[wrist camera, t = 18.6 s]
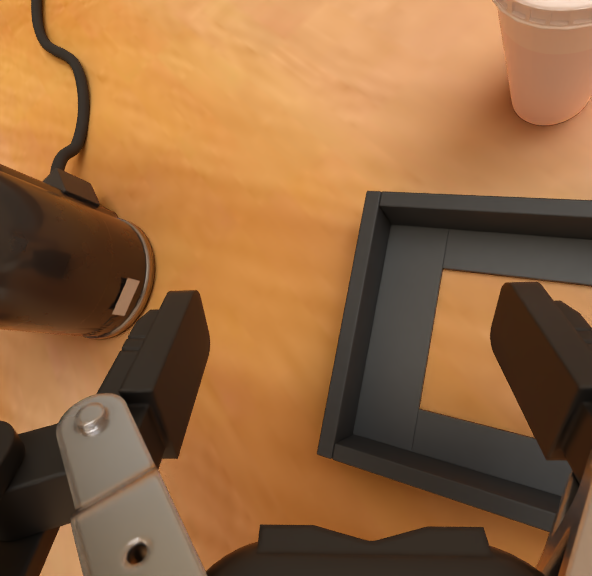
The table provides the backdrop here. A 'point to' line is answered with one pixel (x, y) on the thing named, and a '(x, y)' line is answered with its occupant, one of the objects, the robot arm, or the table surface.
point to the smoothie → (547, 57)
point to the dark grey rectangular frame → (417, 336)
